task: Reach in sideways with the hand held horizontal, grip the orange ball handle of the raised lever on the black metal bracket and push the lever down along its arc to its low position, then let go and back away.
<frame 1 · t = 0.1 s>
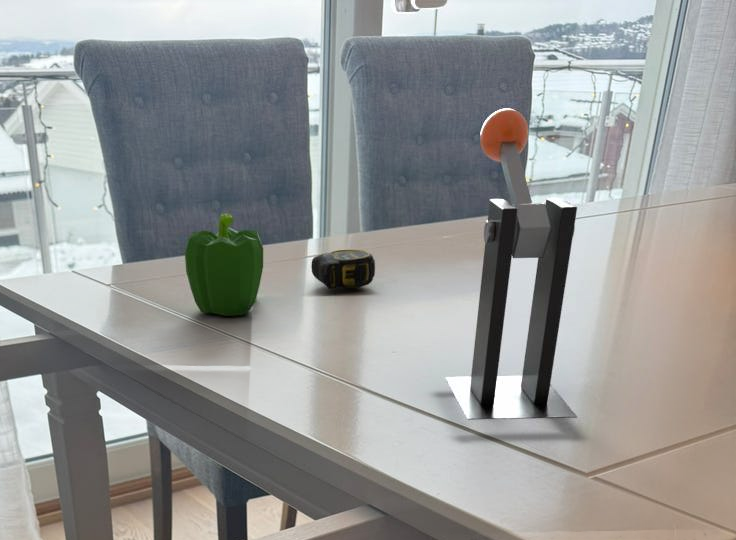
hand: (416, 11, 55), 26 cm above the table, tool pointing down, fingers open, 8 cm apart
bracket: (505, 410, 72), on the table
bell pepper: (225, 313, 101), on the table
lever: (515, 179, 69), point 16 cm above the table, hinge at 25.0°
tape measure: (339, 290, 109), on the table
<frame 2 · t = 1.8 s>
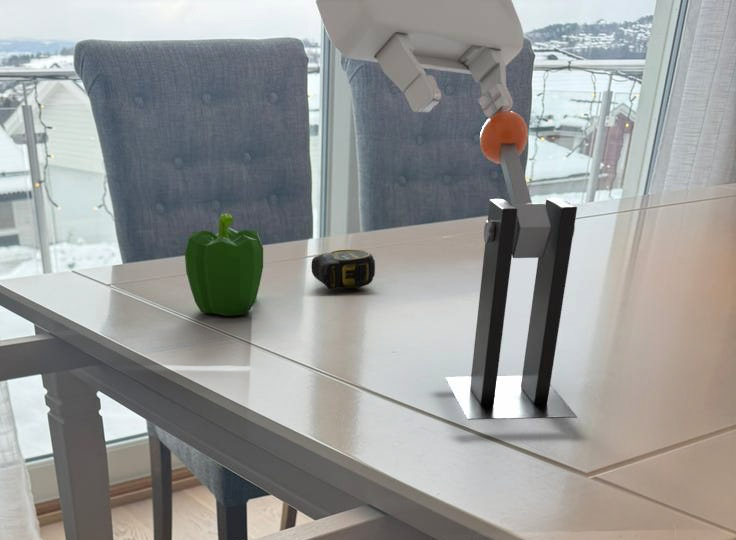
hand: (466, 109, 69), 20 cm above the table, tool tilted 40°, fingers open, 8 cm apart
lever: (515, 180, 69), point 16 cm above the table, hinge at 24.2°, touching gripper
everything else where it was.
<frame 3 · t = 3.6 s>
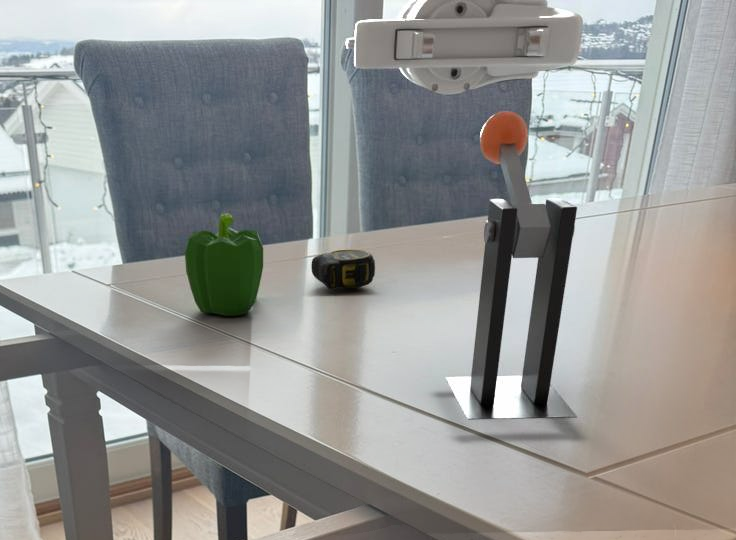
hand: (481, 44, 78), 24 cm above the table, tool horizontal, fingers open, 8 cm apart
lever: (515, 180, 69), point 16 cm above the table, hinge at 24.1°
everything else where it was.
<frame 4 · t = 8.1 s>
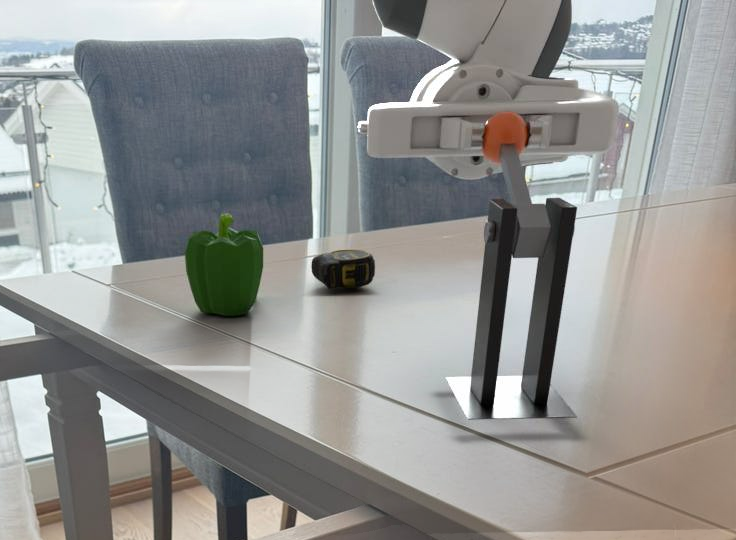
hand: (507, 136, 71), 18 cm above the table, tool horizontal, fingers closed on lever, 3 cm apart
lever: (515, 180, 69), point 16 cm above the table, hinge at 24.1°, touching gripper
everything else where it was.
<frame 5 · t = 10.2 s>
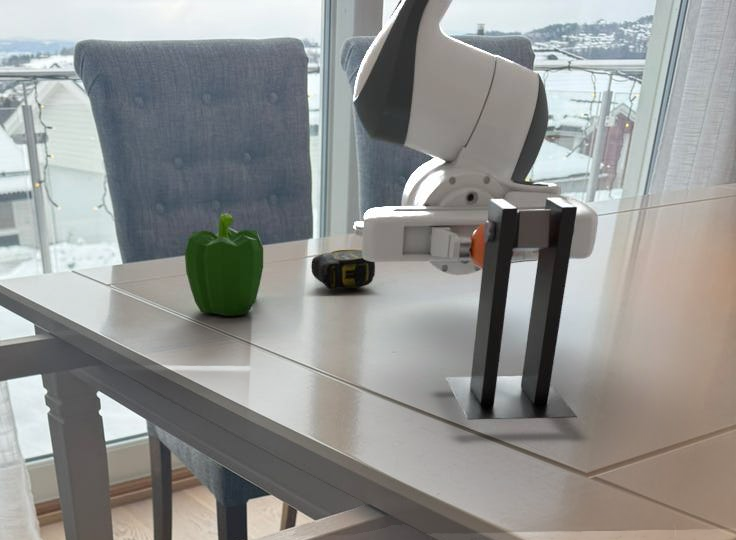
hand: (492, 249, 76), 10 cm above the table, tool horizontal, fingers closed on lever, 3 cm apart
lever: (507, 239, 71), point 11 cm above the table, hinge at -14.7°, touching gripper
everything else where it was.
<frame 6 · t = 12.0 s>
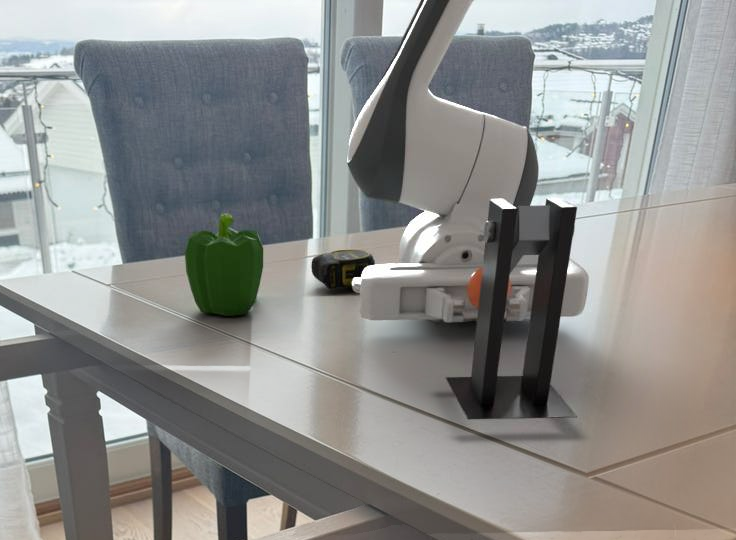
hand: (486, 312, 78), 5 cm above the table, tool horizontal, fingers open, 4 cm apart
lever: (506, 262, 71), point 10 cm above the table, hinge at -30.4°
everything else where it was.
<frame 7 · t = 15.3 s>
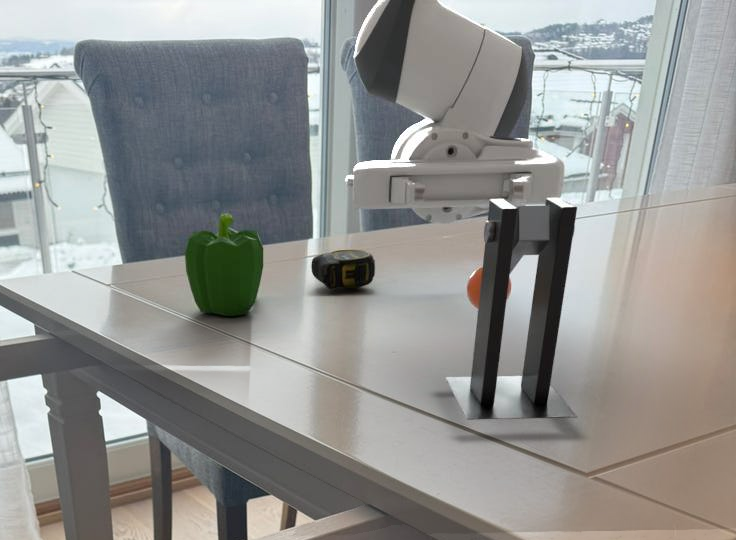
hand: (468, 193, 85), 12 cm above the table, tool horizontal, fingers open, 8 cm apart
nothing on the table moved.
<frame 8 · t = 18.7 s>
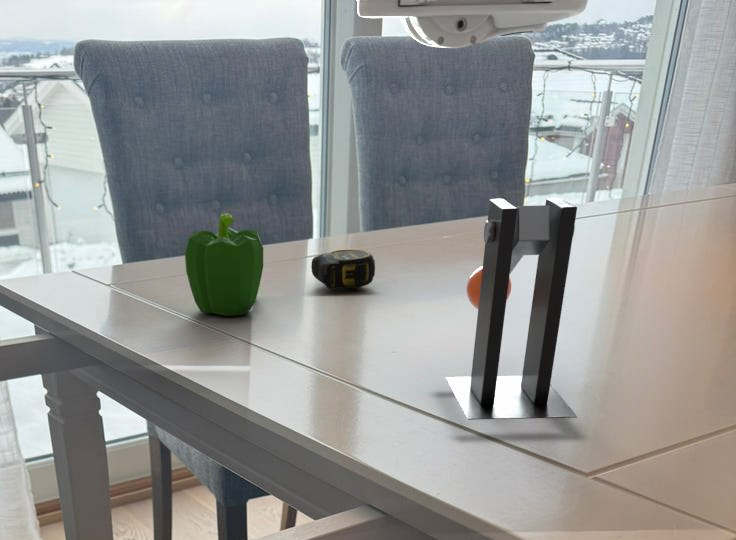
nothing on the table moved.
at the end: lever at -30° (first picture: +25°); bell pepper moved 0.2 cm from its start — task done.
